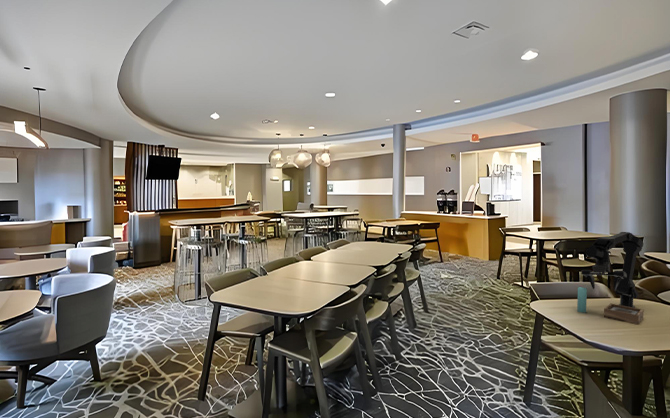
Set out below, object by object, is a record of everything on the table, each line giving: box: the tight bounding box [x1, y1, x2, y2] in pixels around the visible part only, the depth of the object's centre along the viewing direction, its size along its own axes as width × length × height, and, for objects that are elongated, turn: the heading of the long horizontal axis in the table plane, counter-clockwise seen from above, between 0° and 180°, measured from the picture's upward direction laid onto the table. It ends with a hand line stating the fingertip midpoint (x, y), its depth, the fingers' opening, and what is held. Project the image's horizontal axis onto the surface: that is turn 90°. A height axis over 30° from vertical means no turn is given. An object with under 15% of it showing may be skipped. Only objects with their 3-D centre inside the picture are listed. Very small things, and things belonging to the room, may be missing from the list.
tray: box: [603, 302, 644, 325], centre depth 180 cm, size 14×14×4 cm
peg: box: [576, 286, 588, 314], centre depth 190 cm, size 4×4×13 cm
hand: (603, 289), depth 185 cm, fingers open, 9 cm apart
